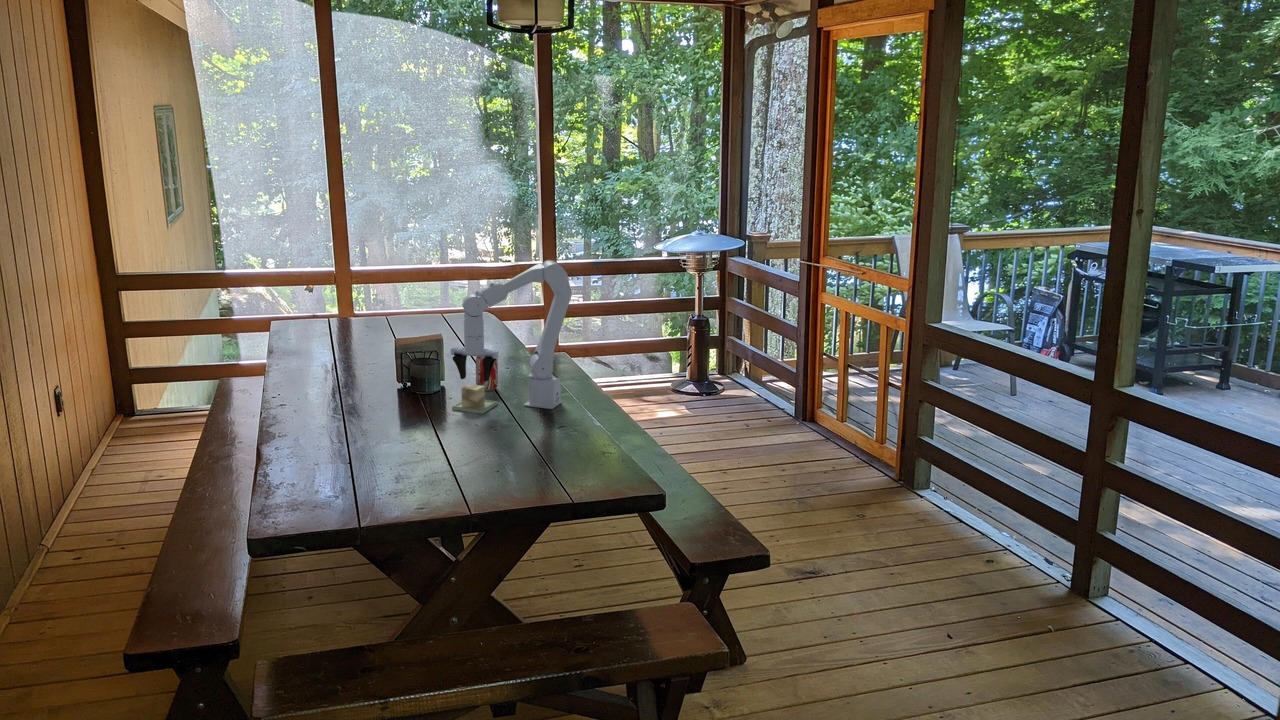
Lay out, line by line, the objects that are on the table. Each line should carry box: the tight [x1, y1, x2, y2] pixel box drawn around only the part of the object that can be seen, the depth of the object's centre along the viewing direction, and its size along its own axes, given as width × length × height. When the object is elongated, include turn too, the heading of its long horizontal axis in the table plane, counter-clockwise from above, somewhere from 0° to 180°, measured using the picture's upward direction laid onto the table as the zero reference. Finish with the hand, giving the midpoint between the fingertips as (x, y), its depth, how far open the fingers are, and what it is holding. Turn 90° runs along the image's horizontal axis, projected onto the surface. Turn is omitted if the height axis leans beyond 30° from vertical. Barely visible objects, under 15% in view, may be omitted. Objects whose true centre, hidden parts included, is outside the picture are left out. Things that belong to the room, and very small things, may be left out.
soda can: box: [475, 356, 499, 392], centre depth 300 cm, size 7×7×12 cm
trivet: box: [451, 399, 498, 415], centre depth 281 cm, size 10×10×1 cm
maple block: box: [460, 383, 486, 409], centre depth 278 cm, size 5×5×6 cm
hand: (474, 379), depth 279 cm, fingers open, 7 cm apart
